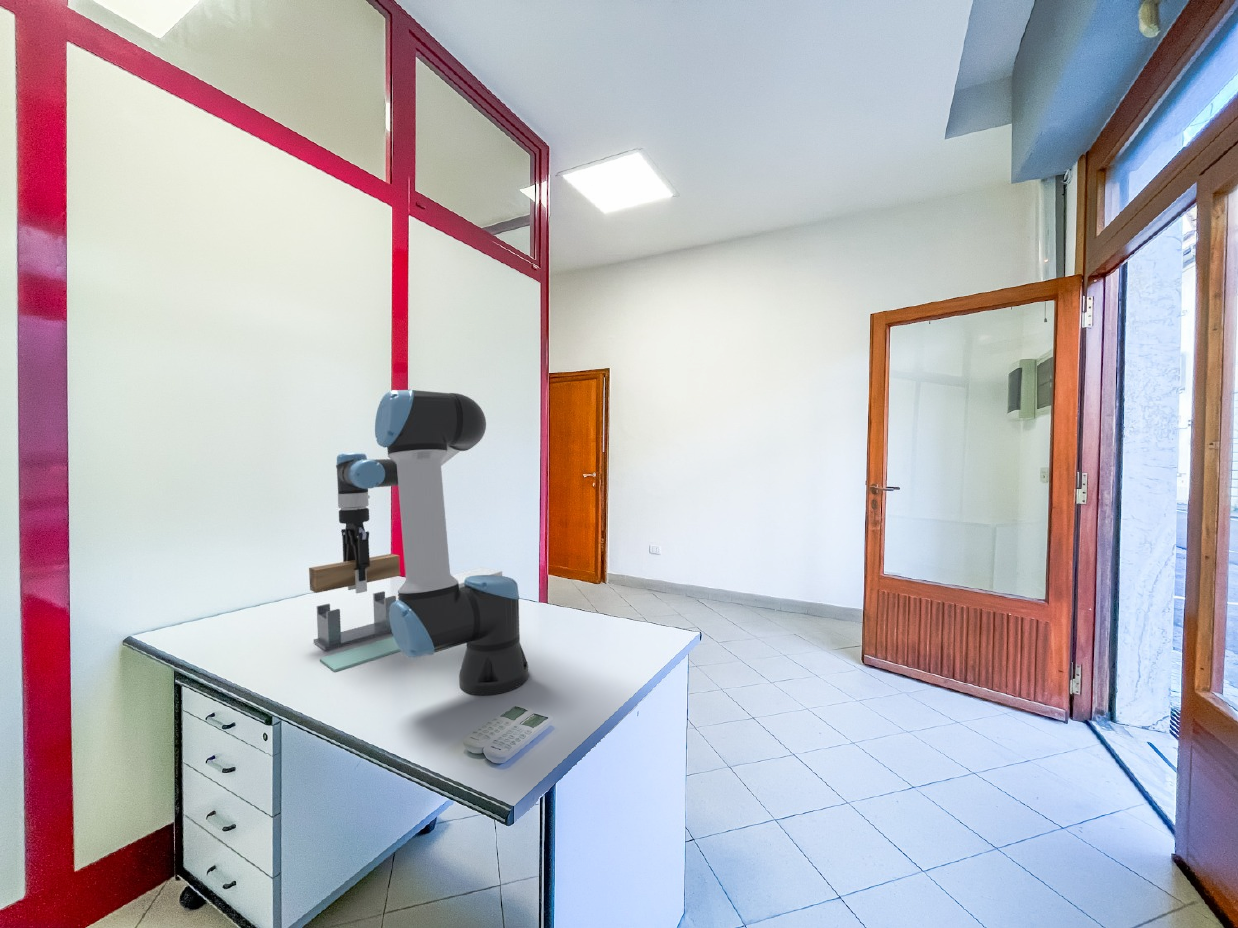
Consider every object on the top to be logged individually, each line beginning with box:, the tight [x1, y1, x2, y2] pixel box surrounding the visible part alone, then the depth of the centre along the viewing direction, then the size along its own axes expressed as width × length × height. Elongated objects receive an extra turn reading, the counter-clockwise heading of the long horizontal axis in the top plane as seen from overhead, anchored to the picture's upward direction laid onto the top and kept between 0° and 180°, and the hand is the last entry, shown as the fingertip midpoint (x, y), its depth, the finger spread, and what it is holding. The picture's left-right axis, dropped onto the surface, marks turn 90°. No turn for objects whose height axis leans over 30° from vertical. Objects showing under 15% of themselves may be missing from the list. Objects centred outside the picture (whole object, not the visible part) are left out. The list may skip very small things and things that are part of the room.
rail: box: [308, 553, 401, 594], centre depth 139 cm, size 5×22×6 cm, turn 138°
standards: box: [312, 591, 397, 652], centre depth 140 cm, size 9×20×10 cm, turn 138°
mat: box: [319, 636, 402, 673], centre depth 129 cm, size 10×24×1 cm, turn 138°
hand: (357, 590), depth 139 cm, fingers closed on rail, 5 cm apart
